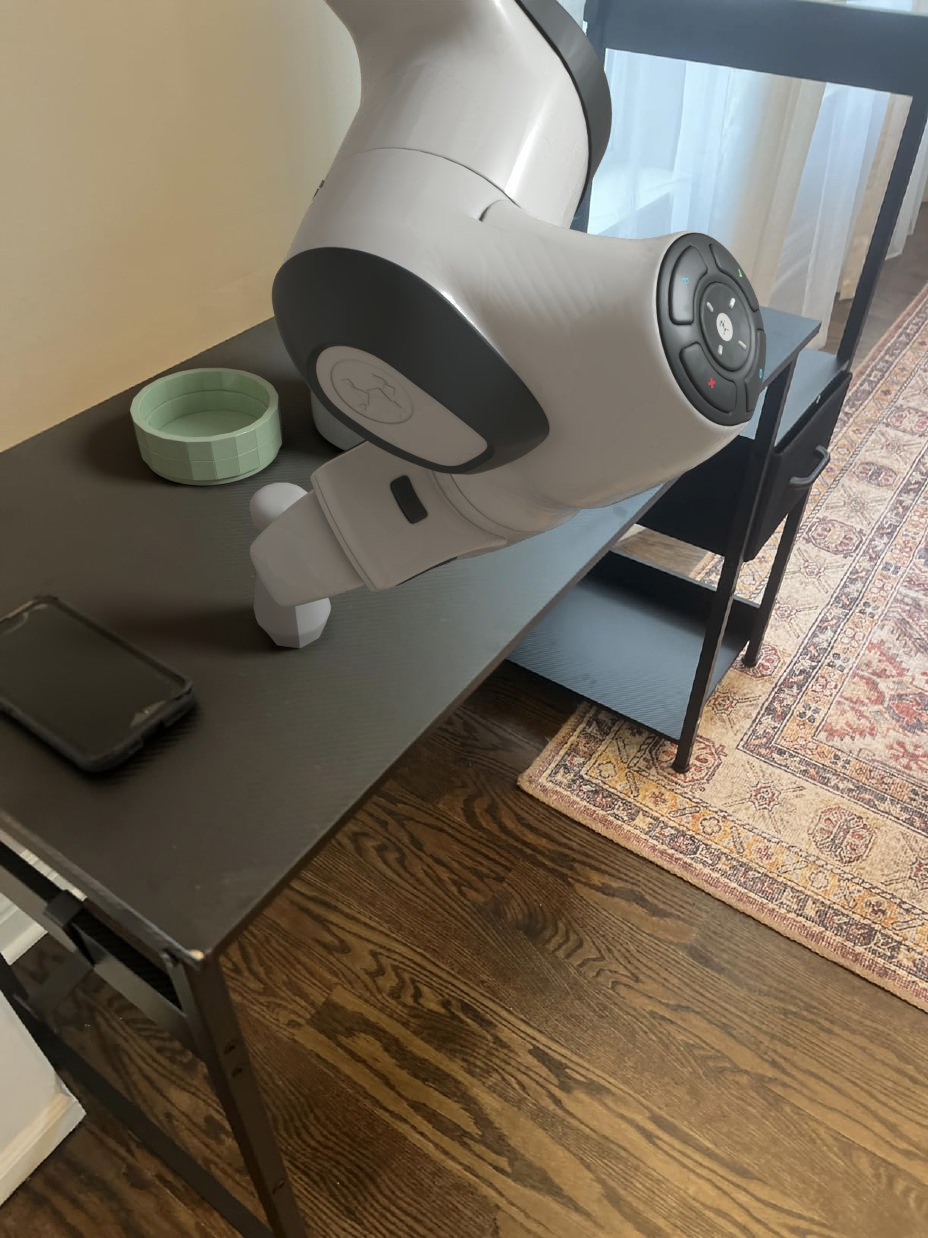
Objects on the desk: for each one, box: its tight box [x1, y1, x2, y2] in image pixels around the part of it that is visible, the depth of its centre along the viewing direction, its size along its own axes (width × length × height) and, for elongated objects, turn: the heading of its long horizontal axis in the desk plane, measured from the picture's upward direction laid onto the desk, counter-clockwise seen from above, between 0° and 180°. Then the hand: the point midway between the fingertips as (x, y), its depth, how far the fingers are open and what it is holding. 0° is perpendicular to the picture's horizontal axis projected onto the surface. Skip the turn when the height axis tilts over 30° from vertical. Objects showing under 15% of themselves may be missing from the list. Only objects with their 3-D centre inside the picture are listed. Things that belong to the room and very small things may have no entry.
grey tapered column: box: [249, 482, 332, 649], centre depth 68 cm, size 6×6×13 cm
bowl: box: [129, 367, 284, 486], centre depth 90 cm, size 14×14×5 cm
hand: (366, 527), depth 58 cm, fingers open, 8 cm apart
